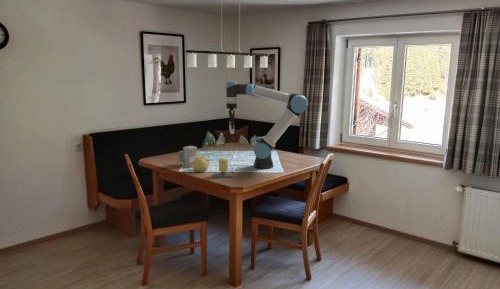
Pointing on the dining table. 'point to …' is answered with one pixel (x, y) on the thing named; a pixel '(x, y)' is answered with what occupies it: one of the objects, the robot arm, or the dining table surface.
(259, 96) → the robot arm
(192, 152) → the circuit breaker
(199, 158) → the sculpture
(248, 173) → the dining table surface
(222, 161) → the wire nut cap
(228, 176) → the grey plate with rod
